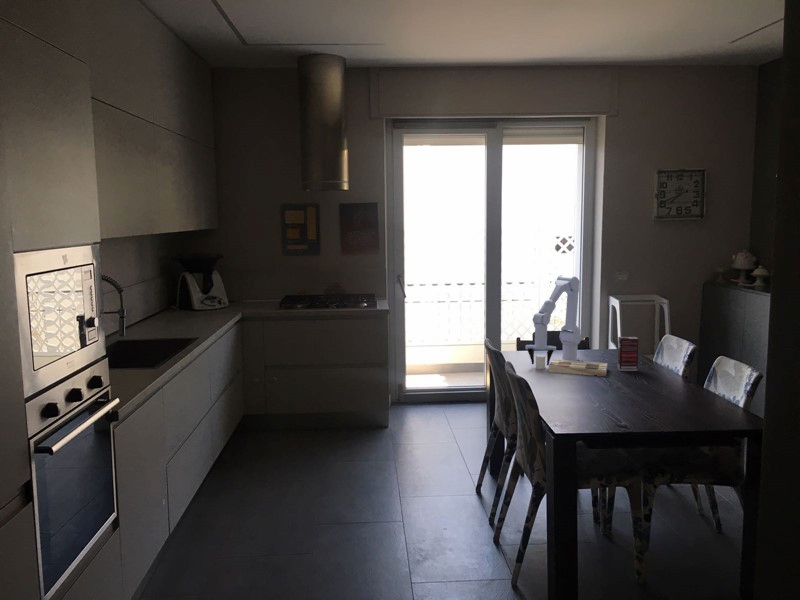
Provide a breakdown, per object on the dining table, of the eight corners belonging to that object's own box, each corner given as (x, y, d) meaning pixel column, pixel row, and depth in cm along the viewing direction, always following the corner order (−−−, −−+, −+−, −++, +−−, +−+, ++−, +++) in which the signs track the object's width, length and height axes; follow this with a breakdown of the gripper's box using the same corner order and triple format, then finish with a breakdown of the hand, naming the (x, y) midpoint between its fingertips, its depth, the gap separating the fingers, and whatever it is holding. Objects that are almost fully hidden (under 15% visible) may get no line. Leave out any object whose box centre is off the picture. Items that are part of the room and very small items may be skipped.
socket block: (552, 365, 318) (552, 358, 317) (607, 369, 308) (607, 362, 308) (548, 371, 305) (548, 364, 304) (605, 376, 295) (605, 369, 295)
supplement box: (635, 368, 309) (636, 336, 307) (637, 371, 304) (639, 338, 302) (616, 368, 310) (618, 336, 308) (619, 371, 305) (620, 338, 303)
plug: (536, 366, 315) (537, 354, 315) (545, 367, 314) (545, 355, 313) (535, 368, 312) (535, 356, 311) (543, 369, 310) (544, 357, 310)
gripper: (524, 337, 310) (524, 365, 312) (555, 339, 305) (554, 367, 306) (527, 335, 316) (526, 362, 318) (556, 337, 311) (556, 364, 313)
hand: (540, 364), depth 313 cm, fingers open, 7 cm apart
